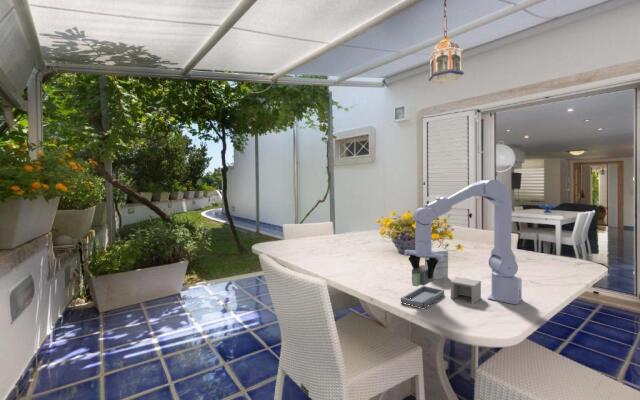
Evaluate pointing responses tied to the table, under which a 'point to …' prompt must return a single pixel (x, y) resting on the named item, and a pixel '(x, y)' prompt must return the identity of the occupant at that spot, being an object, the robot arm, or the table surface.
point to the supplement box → (440, 264)
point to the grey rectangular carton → (420, 276)
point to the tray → (422, 296)
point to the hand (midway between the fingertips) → (423, 276)
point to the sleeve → (466, 288)
